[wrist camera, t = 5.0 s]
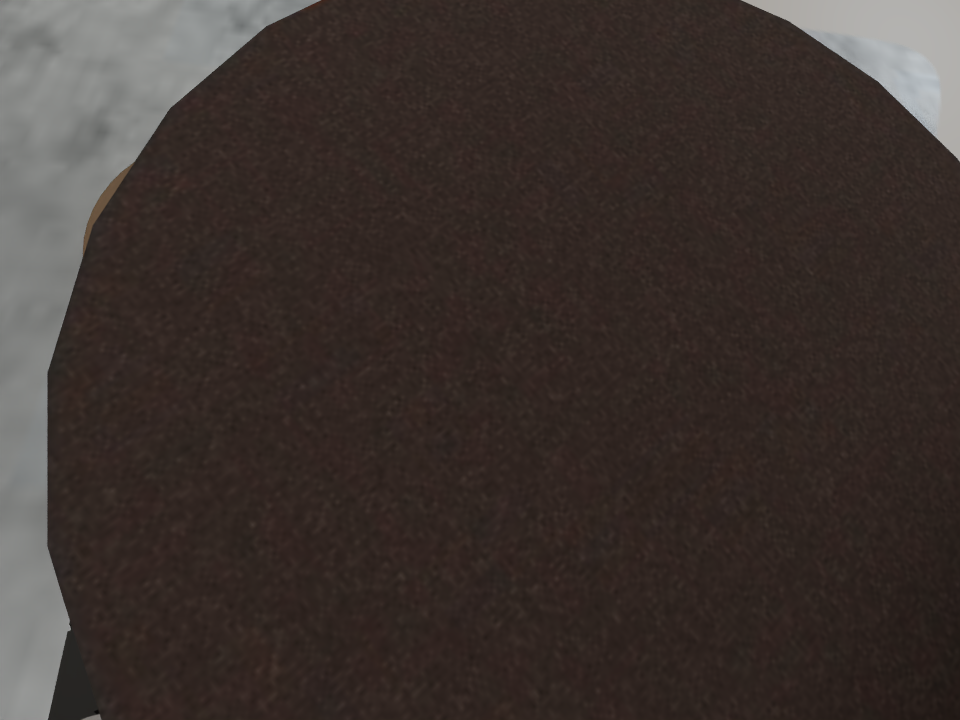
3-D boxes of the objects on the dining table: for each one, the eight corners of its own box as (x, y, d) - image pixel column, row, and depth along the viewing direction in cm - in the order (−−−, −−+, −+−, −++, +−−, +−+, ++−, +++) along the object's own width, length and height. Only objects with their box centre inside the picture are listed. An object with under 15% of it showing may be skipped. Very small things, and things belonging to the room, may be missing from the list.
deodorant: (363, 378, 18) (275, -158, 4) (537, 419, 18) (1049, 97, 4) (310, 568, 16) (-269, 975, 2) (505, 608, 17) (1200, 1145, 2)
